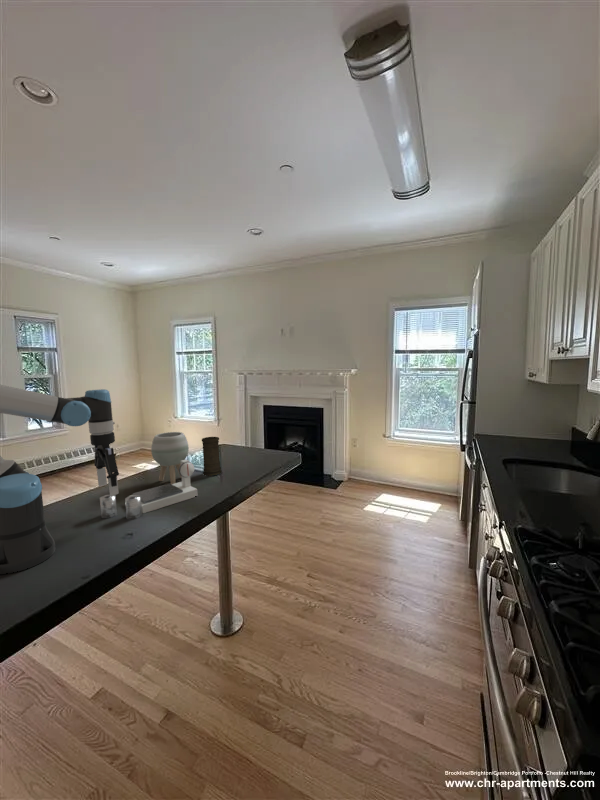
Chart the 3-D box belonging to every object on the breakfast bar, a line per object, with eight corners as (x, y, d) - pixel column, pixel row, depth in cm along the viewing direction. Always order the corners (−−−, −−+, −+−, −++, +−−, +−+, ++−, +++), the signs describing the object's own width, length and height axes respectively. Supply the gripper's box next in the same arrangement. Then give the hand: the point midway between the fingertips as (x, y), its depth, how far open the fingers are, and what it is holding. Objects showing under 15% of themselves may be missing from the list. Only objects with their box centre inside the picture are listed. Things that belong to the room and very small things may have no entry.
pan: (144, 503, 126) (144, 501, 126) (133, 495, 135) (132, 493, 135) (182, 492, 137) (182, 490, 137) (169, 485, 145) (169, 483, 145)
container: (219, 476, 165) (217, 440, 163) (200, 476, 165) (198, 440, 163) (223, 470, 174) (221, 436, 172) (206, 470, 174) (204, 436, 172)
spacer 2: (129, 520, 119) (127, 501, 119) (124, 516, 123) (123, 497, 122) (144, 516, 123) (142, 497, 122) (138, 512, 127) (137, 493, 126)
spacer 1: (103, 519, 121) (102, 500, 120) (99, 515, 124) (98, 496, 124) (118, 515, 124) (117, 496, 124) (114, 511, 128) (113, 493, 127)
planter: (175, 489, 149) (171, 439, 147) (145, 485, 155) (142, 437, 152) (197, 477, 165) (194, 431, 162) (170, 474, 170) (167, 430, 167)
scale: (142, 513, 125) (139, 476, 124) (129, 503, 135) (126, 468, 133) (202, 494, 142) (200, 462, 140) (186, 486, 152) (184, 456, 150)
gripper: (125, 435, 115) (131, 495, 118) (103, 427, 133) (109, 479, 135) (100, 439, 110) (107, 502, 112) (81, 430, 127) (87, 484, 130)
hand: (108, 489), depth 124 cm, fingers open, 13 cm apart
